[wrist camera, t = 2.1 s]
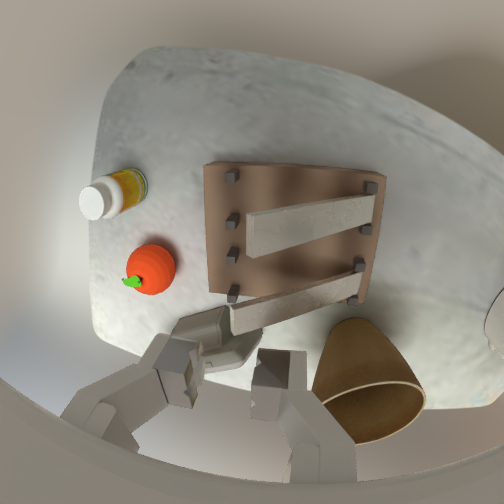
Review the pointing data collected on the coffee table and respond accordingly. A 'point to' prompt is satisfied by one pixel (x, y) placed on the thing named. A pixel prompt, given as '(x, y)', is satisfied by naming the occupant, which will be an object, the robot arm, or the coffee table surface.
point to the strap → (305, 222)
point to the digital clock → (218, 339)
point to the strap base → (276, 196)
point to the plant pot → (366, 382)
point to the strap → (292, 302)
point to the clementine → (150, 269)
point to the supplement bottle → (113, 194)
